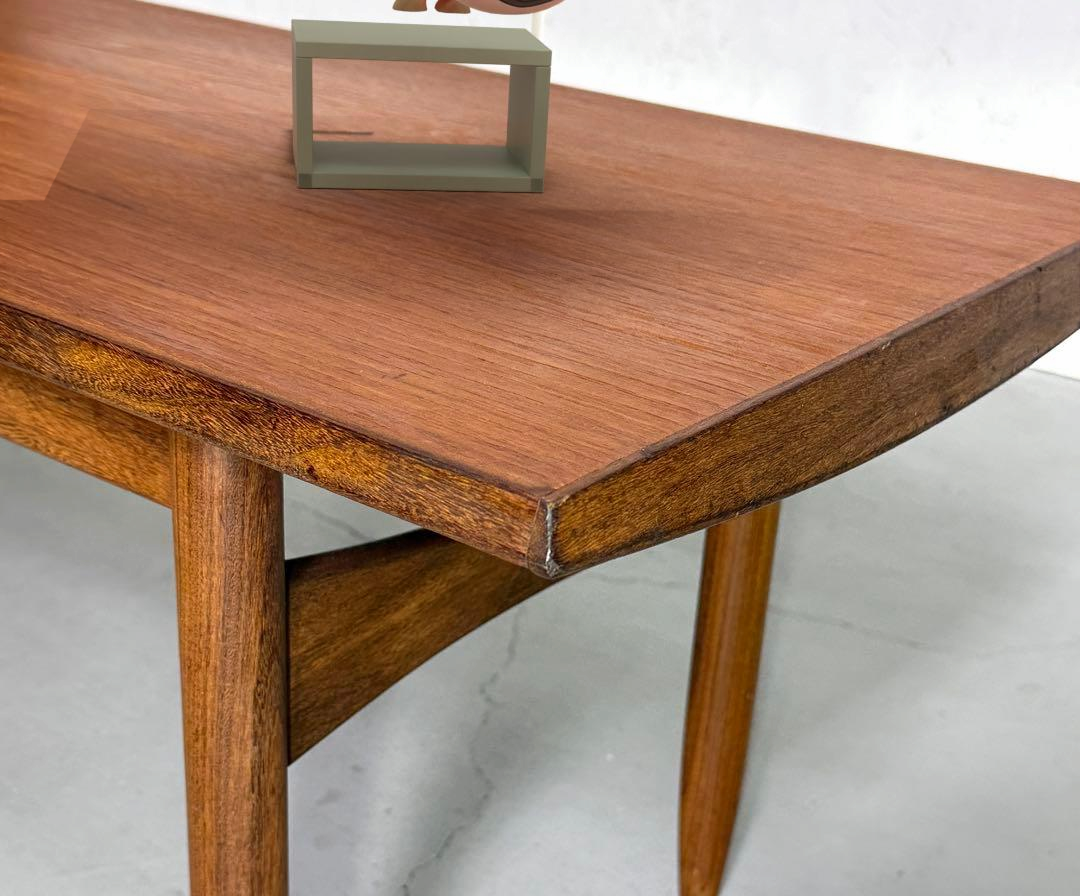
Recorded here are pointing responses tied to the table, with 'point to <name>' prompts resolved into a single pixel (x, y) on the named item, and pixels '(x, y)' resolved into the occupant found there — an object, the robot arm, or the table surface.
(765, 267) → the table surface
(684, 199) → the table surface
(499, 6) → the robot arm
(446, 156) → the frame
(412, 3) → the grandmother figurine
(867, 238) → the table surface
